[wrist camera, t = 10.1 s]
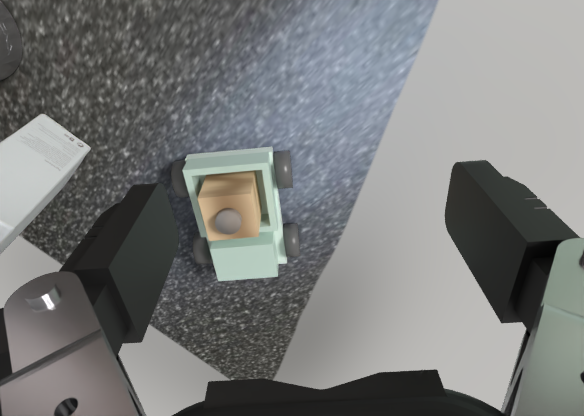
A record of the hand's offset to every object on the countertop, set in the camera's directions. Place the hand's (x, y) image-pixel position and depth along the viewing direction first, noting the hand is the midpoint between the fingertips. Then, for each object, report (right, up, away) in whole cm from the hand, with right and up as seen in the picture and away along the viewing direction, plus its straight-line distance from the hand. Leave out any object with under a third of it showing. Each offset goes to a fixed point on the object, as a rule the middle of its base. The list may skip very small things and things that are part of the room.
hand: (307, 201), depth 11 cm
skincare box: (-27, +6, +32) cm, 42 cm away
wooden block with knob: (-6, +2, +31) cm, 31 cm away
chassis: (-6, +1, +35) cm, 35 cm away
